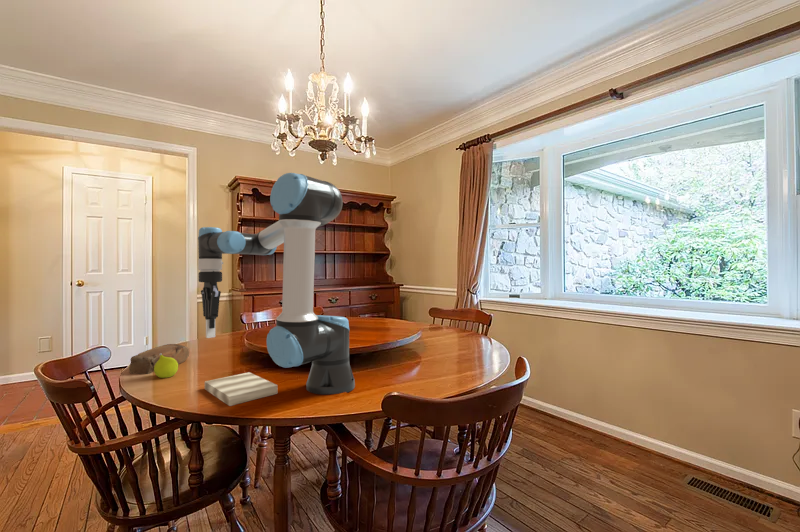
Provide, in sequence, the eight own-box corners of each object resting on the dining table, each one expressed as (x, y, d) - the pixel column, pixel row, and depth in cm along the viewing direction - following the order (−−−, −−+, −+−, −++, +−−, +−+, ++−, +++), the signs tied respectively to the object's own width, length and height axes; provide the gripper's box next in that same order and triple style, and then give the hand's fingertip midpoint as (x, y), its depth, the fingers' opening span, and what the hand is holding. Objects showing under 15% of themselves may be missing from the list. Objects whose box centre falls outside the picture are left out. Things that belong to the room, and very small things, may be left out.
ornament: (149, 381, 123) (149, 351, 123) (161, 375, 130) (161, 347, 130) (171, 380, 123) (171, 351, 123) (182, 374, 130) (182, 346, 130)
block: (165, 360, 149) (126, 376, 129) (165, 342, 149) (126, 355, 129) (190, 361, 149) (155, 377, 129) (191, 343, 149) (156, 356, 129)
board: (277, 393, 110) (277, 385, 110) (229, 406, 100) (229, 396, 100) (249, 379, 124) (249, 372, 124) (204, 389, 114) (204, 381, 114)
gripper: (228, 270, 129) (228, 338, 128) (215, 270, 138) (215, 333, 138) (205, 271, 123) (205, 341, 123) (193, 271, 132) (193, 336, 132)
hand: (210, 337), depth 130 cm, fingers closed
